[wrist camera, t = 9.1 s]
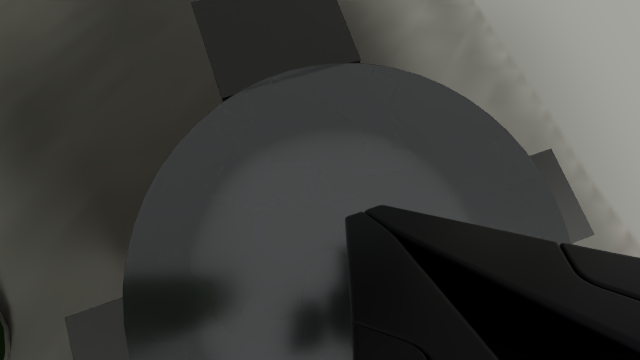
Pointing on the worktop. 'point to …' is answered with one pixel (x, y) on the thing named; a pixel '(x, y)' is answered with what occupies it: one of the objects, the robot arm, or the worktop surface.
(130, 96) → the worktop surface
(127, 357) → the cooker pot
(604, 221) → the worktop surface
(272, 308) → the cooker lid
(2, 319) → the beer can
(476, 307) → the robot arm
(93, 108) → the worktop surface
